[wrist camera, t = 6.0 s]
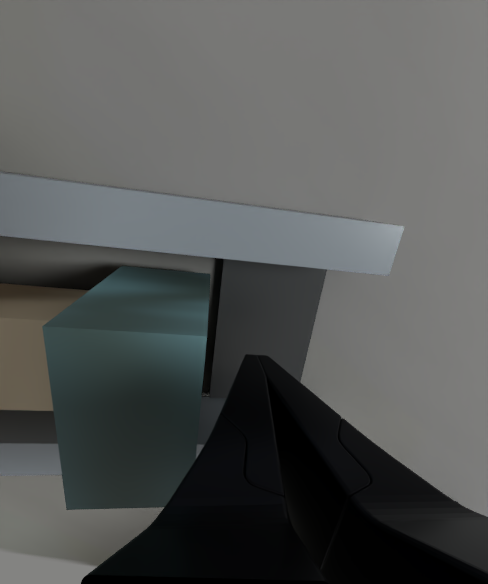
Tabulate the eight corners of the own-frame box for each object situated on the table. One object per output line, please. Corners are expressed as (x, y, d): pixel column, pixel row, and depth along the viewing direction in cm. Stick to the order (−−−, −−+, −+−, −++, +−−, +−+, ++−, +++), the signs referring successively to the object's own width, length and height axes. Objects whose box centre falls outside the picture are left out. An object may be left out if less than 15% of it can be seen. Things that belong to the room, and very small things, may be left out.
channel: (360, 219, 10) (404, 226, 8) (306, 424, 13) (326, 472, 11) (-141, 152, 8) (-292, 133, 6) (-59, 417, 11) (-132, 476, 9)
